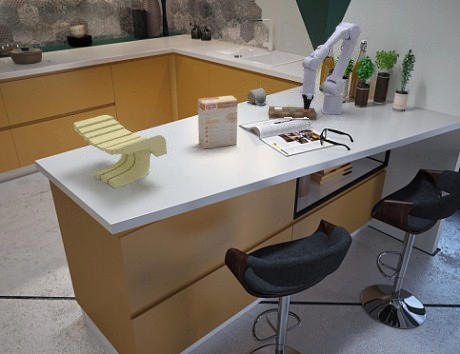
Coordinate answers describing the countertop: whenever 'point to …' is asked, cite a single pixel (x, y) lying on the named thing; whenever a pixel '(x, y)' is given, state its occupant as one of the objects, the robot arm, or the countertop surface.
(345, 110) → the countertop surface
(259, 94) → the ceramic mug
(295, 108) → the sage button
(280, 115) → the button panel
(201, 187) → the countertop surface
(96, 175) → the slatted lounge chair
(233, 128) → the coffeecake box
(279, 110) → the cream button
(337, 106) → the robot arm
